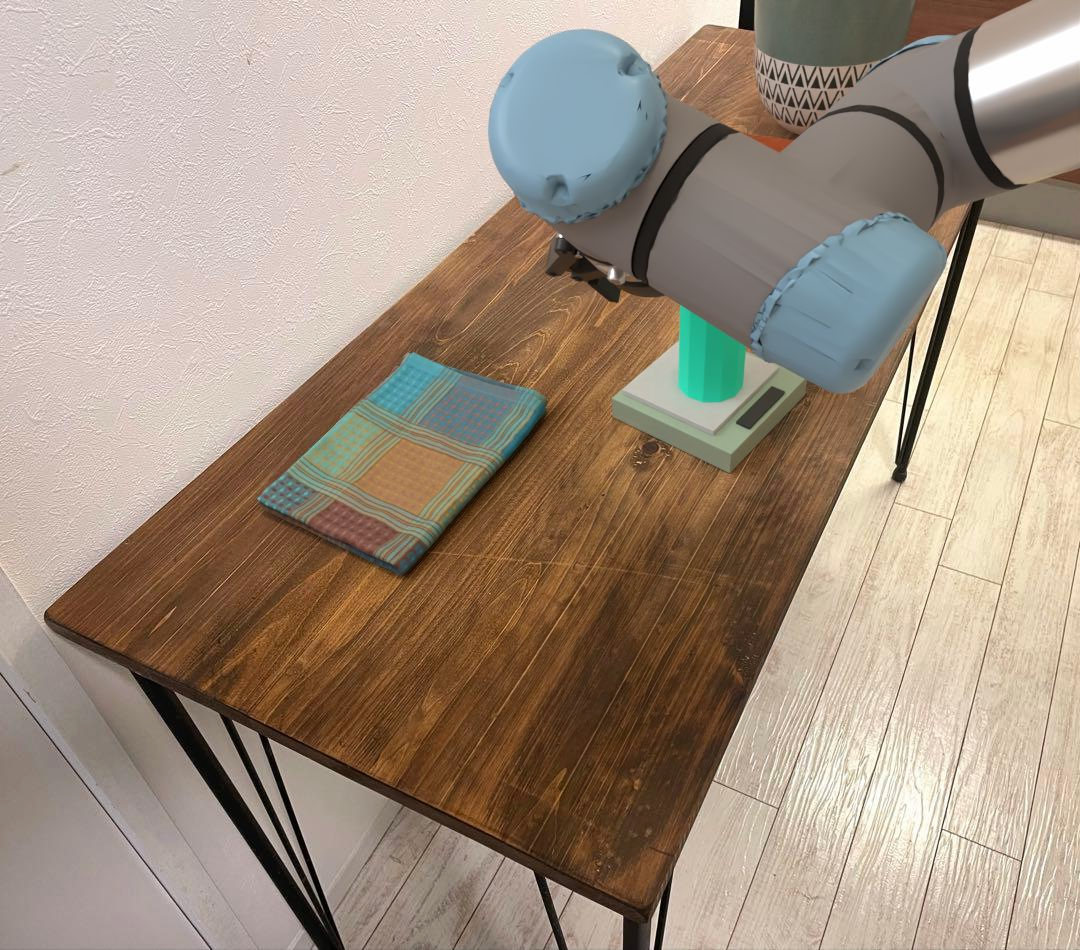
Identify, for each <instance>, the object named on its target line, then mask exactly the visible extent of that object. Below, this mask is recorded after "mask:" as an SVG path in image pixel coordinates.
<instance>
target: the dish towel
mask: <svg viewBox="0 0 1080 950" xmlns="http://www.w3.org/2000/svg"><path fill="white" fill-rule="evenodd" d="M548 403H549V400H548V398H547V397H546V396H545V395H544V394H542V393H541V392H539V391H537V390H536V389H532V388H528V387H524V386H519V385H515V384H511V383H508V382H507V383H506V382H503V381H500V380H496V379H493V378H491V377H487V376H484V375H480V374H478V373H475V372H471V371H470V372H469V371H465V370H461V369H459V368H455V367H452V366H449V365H446V364H443V363H440V362H436V361H434V360H431V359H428V358H427V357H424V356H422V355H420V354H418V353H416V352H412V353H411V352H407V353H406V354H405V356H404V357H403V359H402V361H401V363H400V365H399V366H398V367H397V368H396V369H395V370H394V371H393V372H392V373H391V374H390V375H389V376H388V377H386V378H385V379H384V381H382V382H380V383H379V385H377V387H376V388H374V389H373V390H372V391H371V392H370V393H368V394H367V395H366V396H365V397H364V398H363V399H361V400H360V401H359V402H358V403H357V404H355V405H354V406H353V407H352V408H351V409H350V410H349V411H348V412H347V413H346V414H344V415H343V417H342V418H341V419H340V420H339V421H336V423H335V425H332V427H331V428H330V429H329V430H328V432H326V433H325V434H324V435H323V436H322V437H320V439H319V440H318V441H316V442H315V443H314V444H313V445H312V446H311V447H310V448H309V449H308V450H307V451H306V452H305V453H304V454H302V456H301V457H299V458H298V459H297V460H295V462H294V463H293V464H292V465H291V466H290V467H289V468H288V469H286V471H285V472H283V473H282V474H281V475H280V477H278V478H277V479H276V480H274V481H273V482H272V483H271V484H269V485H268V486H267V487H266V488H265V489H264V490H263V491H262V492H261V494H260V495H259V496H258V497H257V501H258V503H257V504H258V506H259V507H260V508H261V509H262V510H263V511H265V512H267V513H269V514H271V515H273V516H276V517H278V518H279V519H282V520H284V521H286V522H288V523H290V524H292V525H295V526H296V527H300V528H301V529H304V530H306V531H307V532H309V533H312V534H314V535H316V536H318V537H319V538H322V539H323V540H326V541H329V542H330V543H331V544H334V545H336V546H338V547H340V548H342V549H344V550H346V551H348V552H350V553H352V554H355V555H357V556H358V557H361V558H363V559H365V560H366V561H369V562H371V563H373V564H375V565H376V566H379V567H382V568H384V569H386V570H387V571H391V572H393V573H394V574H395V575H398V576H400V577H404V575H405V574H407V572H408V571H410V569H412V567H413V566H414V565H415V564H416V563H417V562H418V561H419V560H420V559H421V558H422V557H423V556H424V554H425V553H426V552H427V551H428V550H429V549H430V548H431V547H432V546H433V544H434V543H435V542H436V541H437V540H438V539H439V538H440V536H441V535H442V534H443V533H444V532H445V531H446V529H447V528H448V526H449V525H450V524H451V523H452V522H453V520H454V519H455V518H456V517H457V516H458V515H459V513H461V511H462V510H463V509H465V507H466V506H467V504H468V503H469V502H471V500H472V499H473V498H474V497H475V495H476V494H477V493H478V492H480V490H481V489H482V488H483V487H484V485H485V484H486V483H487V482H489V480H490V479H491V478H492V477H493V476H494V475H495V474H496V472H497V471H498V470H500V468H501V467H502V466H503V465H504V464H505V462H507V460H508V459H509V458H510V457H511V456H512V455H513V454H514V452H516V450H518V448H519V447H520V445H521V444H522V443H523V442H524V441H525V439H526V438H527V437H528V436H529V435H530V433H531V431H532V430H533V429H534V428H535V426H536V424H537V423H538V422H539V420H541V418H542V417H543V416H544V415H545V414H546V413H547V406H548Z"/></svg>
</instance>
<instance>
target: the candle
mask: <svg viewBox="0 0 1080 950" xmlns="http://www.w3.org/2000/svg"><path fill="white" fill-rule="evenodd" d="M678 333H679V335H678V340H679V373H678V380H679V388H680V389H681V390H682V392H683V393H684V394H685V395H686V396H687V397H689V398H692V399H695V400H698V401H701V402H722V401H724V400H727V399H730V398H732V397H735V396H736V395H737V393H738V392H739V391H740V390H741V388H742V387H743V379H744V367H745V356H746V351H747V347H746V346H744V345H743V344H741V343H740V342H738V341H736V340H735V339H733V338H732V337H730V336H728V335H727V334H725V333H724V332H722V331H721V330H719V329H717V328H716V327H714V326H713V325H711V324H710V323H708V322H706V321H705V320H703V319H702V318H700V317H699V316H697V315H695V314H694V313H692V312H691V311H689V310H687V309H686V308H684V307H683V306H681V305H680V304H679V332H678Z"/></svg>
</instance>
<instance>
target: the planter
mask: <svg viewBox="0 0 1080 950" xmlns="http://www.w3.org/2000/svg"><path fill="white" fill-rule="evenodd" d="M917 4H918V0H754V17H753V18H754V21H753V22H754V23H753V72H754V73H753V74H754V79H755V85H756V90H757V94H758V97H759V100H760V103H761V104H762V106H763V108H764V109H765V111H766V112H767V114H768V115H769V116H770V117H771V118H772V120H774V121H775V122H776V123H777V124H778V125H779V126H781V127H782V128H783V129H785V130H787V131H788V132H790V133H791V134H795V135H797V136H800V135H801V134H802V133H803V132H804V131H805V130H806V129H807V128H809V127H810V126H811V125H812V124H813V123H814V122H815V121H817V120H818V119H819V118H820V117H821V116H822V115H823V114H824V113H825V112H827V111H828V110H829V109H830V108H831V107H832V106H833V105H834V104H835V103H836V102H838V101H839V100H840V99H841V98H842V97H843V96H844V95H845V94H846V93H848V92H849V91H850V90H851V89H852V88H853V87H854V86H855V85H856V83H857V82H858V81H859V80H860V79H861V78H863V77H864V76H865V74H866V73H867V72H868V71H869V69H870V68H871V67H873V66H874V65H875V64H877V63H878V62H880V61H882V60H883V59H885V58H887V57H889V56H890V55H892V54H894V53H895V52H897V51H899V50H901V49H903V48H904V47H906V46H908V45H907V44H908V41H909V37H910V33H911V29H912V24H913V20H914V17H915V12H916V11H915V10H916V7H917Z"/></svg>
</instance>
